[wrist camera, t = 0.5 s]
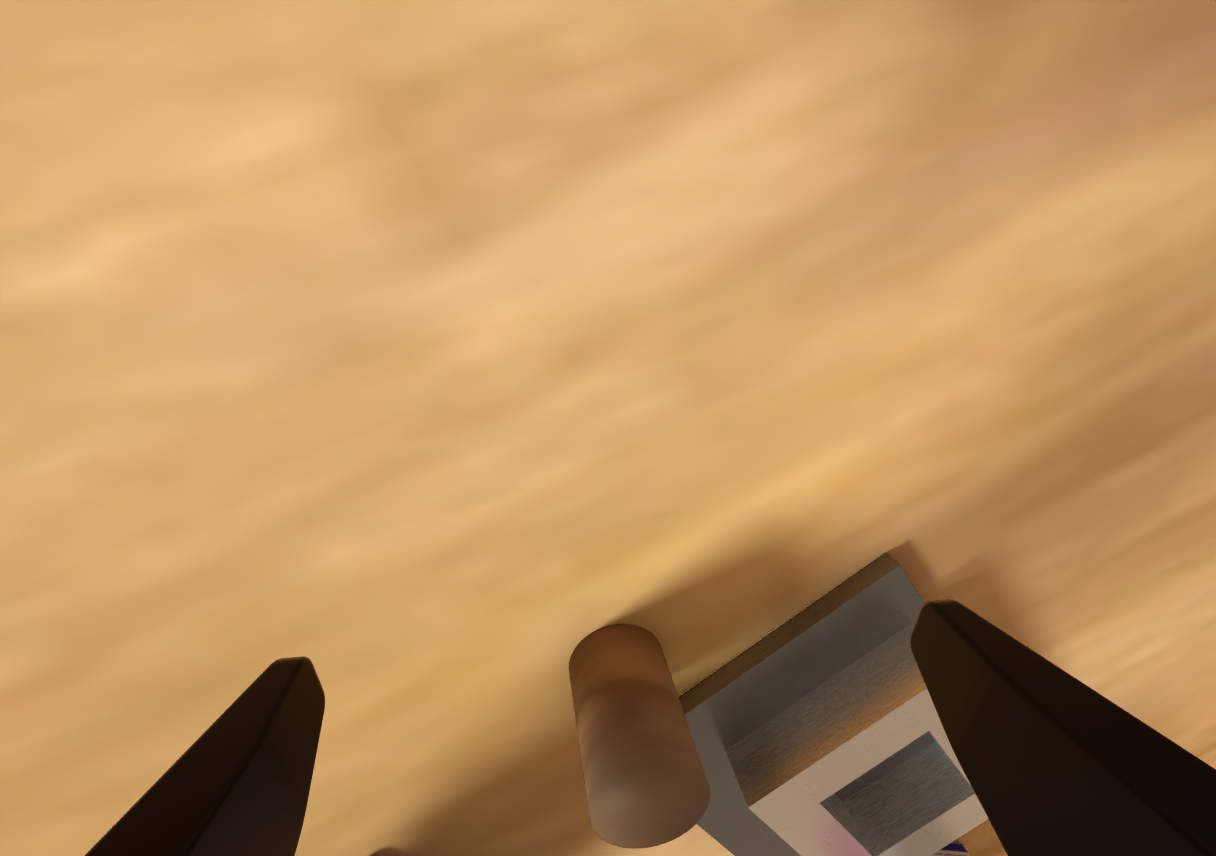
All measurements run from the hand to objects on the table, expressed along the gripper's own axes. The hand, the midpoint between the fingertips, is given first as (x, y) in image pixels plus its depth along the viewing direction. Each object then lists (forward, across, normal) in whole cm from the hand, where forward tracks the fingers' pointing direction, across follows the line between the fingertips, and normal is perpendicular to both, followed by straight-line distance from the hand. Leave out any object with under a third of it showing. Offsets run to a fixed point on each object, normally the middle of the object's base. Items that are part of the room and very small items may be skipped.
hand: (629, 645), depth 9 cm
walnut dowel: (+12, -1, +16) cm, 20 cm away
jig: (+12, -13, +24) cm, 30 cm away
